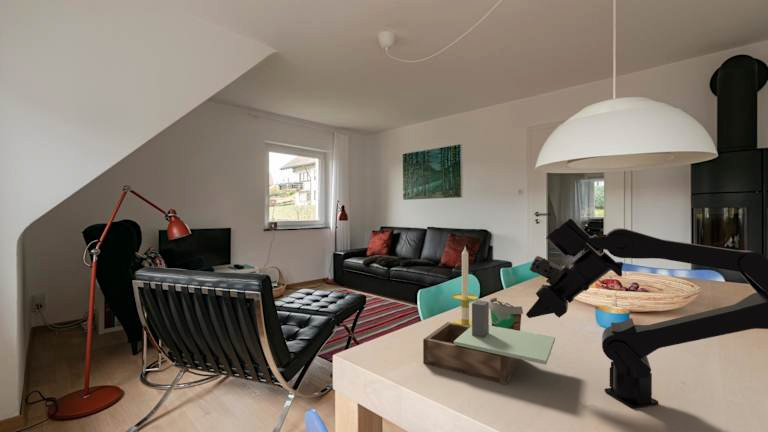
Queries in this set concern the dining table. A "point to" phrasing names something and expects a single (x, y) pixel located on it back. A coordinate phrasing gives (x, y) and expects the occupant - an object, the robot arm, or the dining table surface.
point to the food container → (505, 315)
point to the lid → (504, 338)
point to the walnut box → (465, 356)
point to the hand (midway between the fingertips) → (527, 315)
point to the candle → (464, 293)
